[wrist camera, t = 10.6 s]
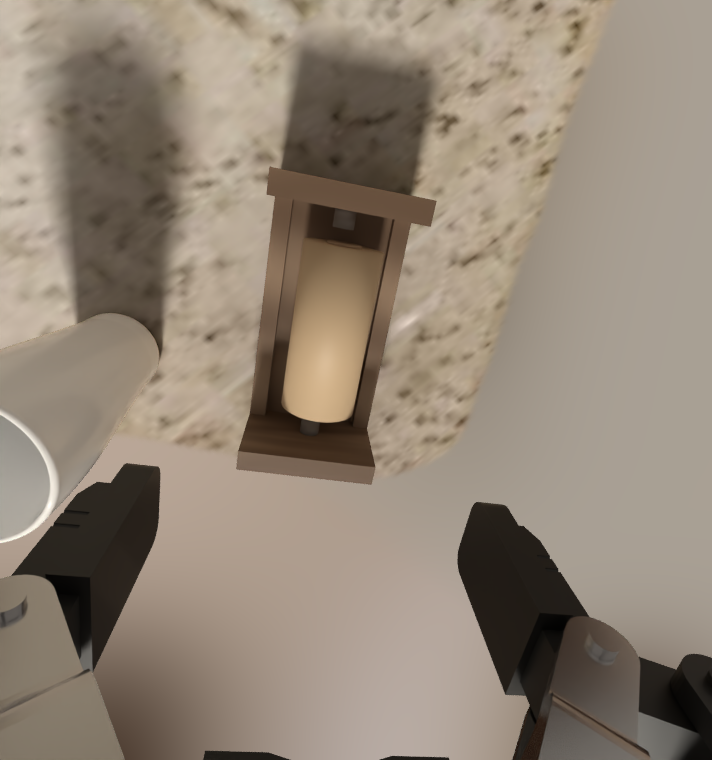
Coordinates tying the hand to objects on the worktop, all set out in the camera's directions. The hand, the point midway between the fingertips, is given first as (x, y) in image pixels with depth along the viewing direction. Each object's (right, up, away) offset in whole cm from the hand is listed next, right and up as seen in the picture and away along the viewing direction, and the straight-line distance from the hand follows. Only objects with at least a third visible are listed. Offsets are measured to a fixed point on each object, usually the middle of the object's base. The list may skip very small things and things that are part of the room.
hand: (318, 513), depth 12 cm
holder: (-1, +8, +19) cm, 21 cm away
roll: (-1, +7, +18) cm, 20 cm away
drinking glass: (-15, +6, +19) cm, 25 cm away
